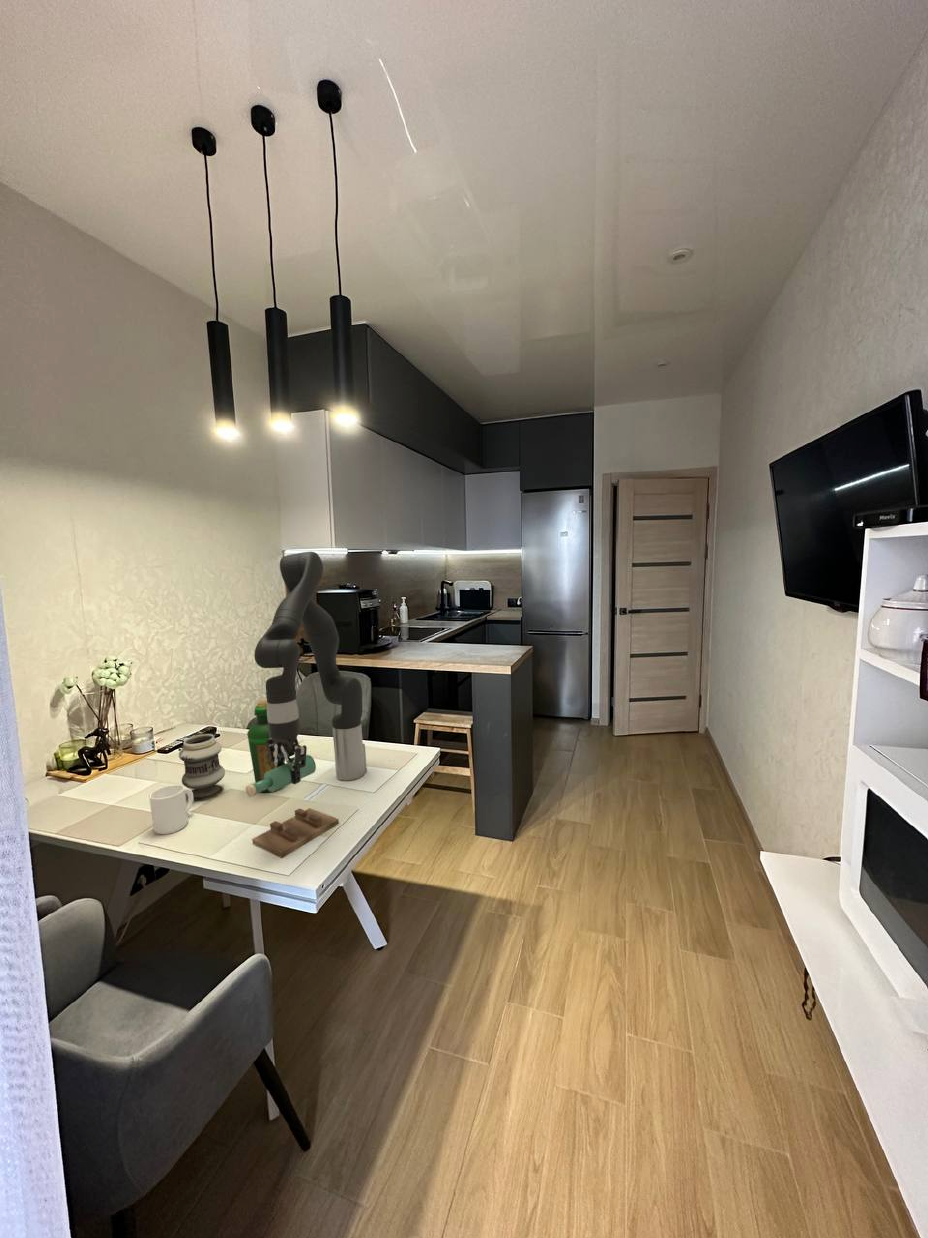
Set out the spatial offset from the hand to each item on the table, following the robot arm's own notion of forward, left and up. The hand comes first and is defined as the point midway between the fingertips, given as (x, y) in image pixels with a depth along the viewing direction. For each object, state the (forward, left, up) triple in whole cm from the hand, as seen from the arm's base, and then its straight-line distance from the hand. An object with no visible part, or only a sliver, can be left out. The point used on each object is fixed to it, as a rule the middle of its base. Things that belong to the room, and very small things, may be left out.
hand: (289, 780), depth 129 cm
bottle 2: (+2, 0, -1) cm, 2 cm away
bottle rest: (-1, 0, -15) cm, 15 cm away
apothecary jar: (-1, -45, -15) cm, 47 cm away
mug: (+13, -34, -15) cm, 39 cm away
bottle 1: (-14, -30, -15) cm, 36 cm away
